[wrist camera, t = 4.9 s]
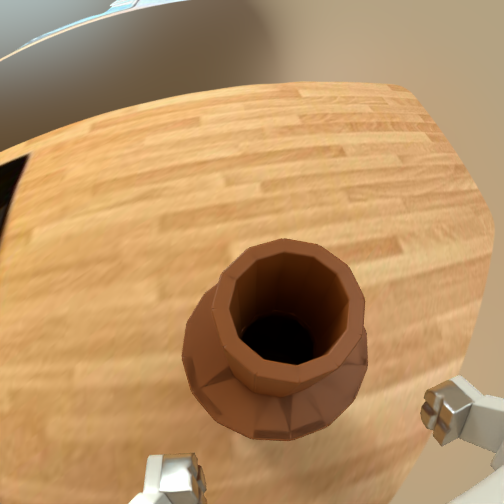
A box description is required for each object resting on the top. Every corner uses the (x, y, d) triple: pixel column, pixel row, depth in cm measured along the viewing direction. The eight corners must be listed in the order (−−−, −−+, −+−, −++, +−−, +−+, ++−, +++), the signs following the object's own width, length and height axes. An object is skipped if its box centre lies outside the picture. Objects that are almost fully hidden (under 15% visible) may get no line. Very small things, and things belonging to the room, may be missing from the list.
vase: (319, 411, 20) (459, 374, 6) (235, 440, 19) (191, 488, 5) (289, 335, 24) (349, 173, 9) (209, 360, 22) (130, 229, 8)
